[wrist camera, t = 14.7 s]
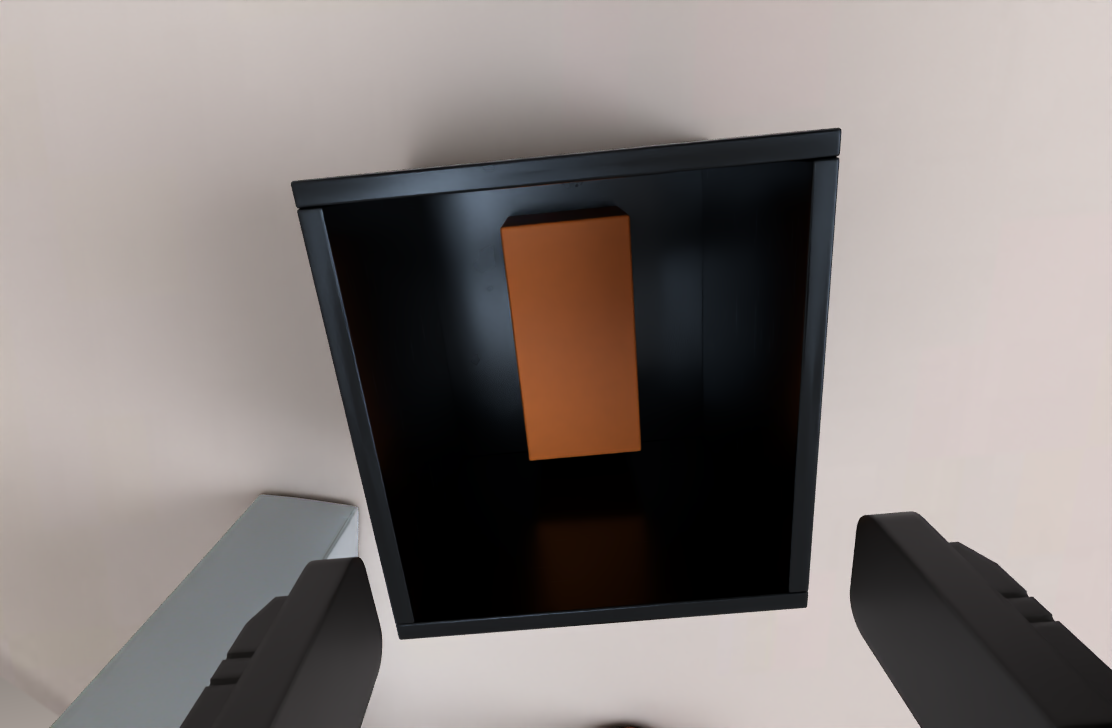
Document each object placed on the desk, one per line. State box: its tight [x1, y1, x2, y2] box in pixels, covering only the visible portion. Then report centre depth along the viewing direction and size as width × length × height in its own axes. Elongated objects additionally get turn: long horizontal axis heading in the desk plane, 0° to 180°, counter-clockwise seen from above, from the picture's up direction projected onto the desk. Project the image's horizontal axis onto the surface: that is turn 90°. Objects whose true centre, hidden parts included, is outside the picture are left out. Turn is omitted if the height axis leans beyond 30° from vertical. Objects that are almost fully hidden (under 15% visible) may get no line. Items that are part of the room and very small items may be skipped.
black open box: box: [291, 128, 841, 640], centre depth 20 cm, size 13×12×11 cm
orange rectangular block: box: [500, 206, 641, 461], centre depth 23 cm, size 9×4×4 cm, turn 6°
